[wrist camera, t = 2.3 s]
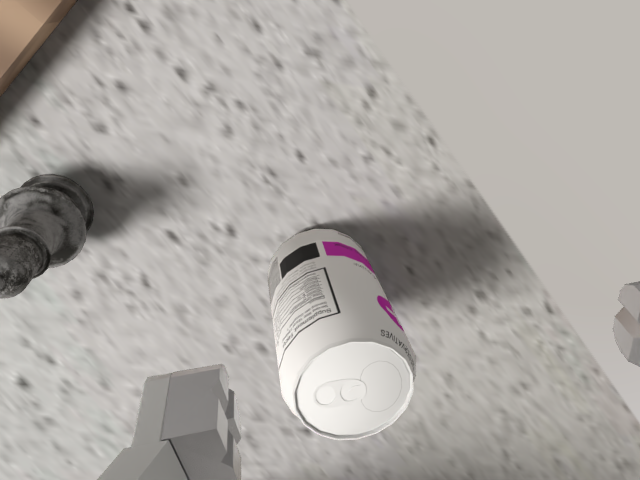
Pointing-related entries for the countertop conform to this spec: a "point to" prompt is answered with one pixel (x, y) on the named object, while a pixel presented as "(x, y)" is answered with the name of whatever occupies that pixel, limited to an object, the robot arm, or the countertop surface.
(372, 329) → the supplement can
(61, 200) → the grey tall rounded piece
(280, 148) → the countertop surface
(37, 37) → the holder
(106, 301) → the countertop surface
